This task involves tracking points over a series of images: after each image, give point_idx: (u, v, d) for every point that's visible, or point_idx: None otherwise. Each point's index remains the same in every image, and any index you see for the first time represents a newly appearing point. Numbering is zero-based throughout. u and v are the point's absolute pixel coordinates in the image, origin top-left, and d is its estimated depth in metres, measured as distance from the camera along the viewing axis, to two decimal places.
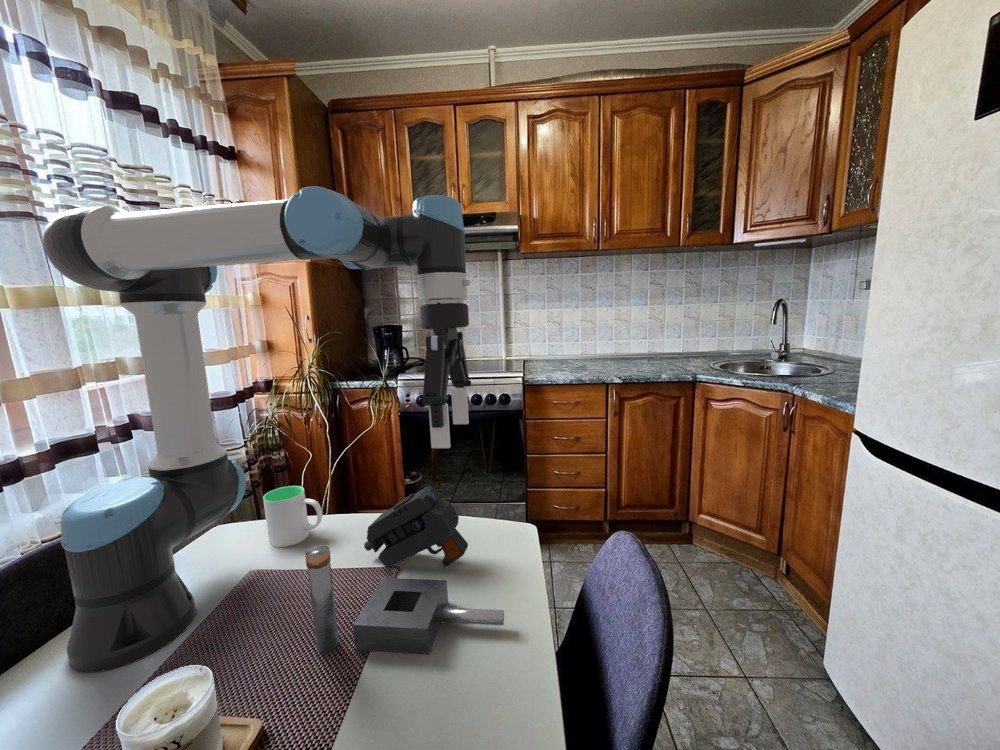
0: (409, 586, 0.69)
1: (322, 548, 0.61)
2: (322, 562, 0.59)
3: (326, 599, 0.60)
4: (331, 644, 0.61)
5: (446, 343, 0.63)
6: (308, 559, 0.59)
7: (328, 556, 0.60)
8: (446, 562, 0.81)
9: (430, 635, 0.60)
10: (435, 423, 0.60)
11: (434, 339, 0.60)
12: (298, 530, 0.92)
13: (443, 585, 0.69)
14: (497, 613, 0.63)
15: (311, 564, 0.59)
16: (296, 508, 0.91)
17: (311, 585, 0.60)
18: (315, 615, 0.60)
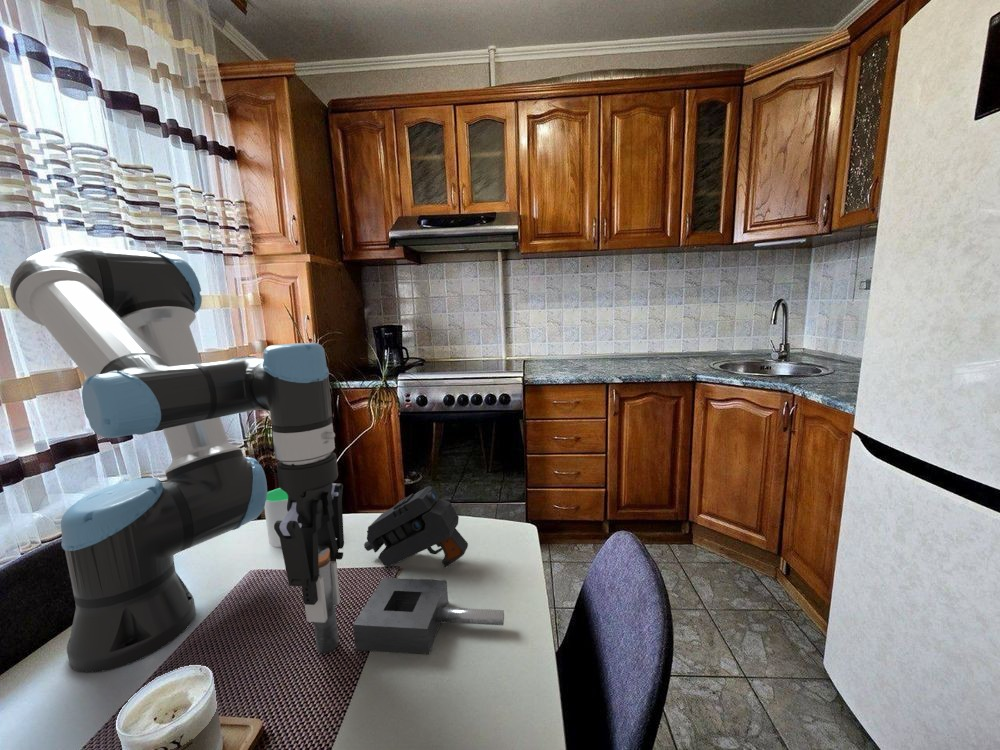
0: (409, 586, 0.69)
1: (322, 548, 0.61)
2: (322, 562, 0.59)
3: (326, 599, 0.60)
4: (331, 644, 0.61)
5: (303, 511, 0.56)
6: None
7: (328, 556, 0.60)
8: (446, 562, 0.81)
9: (430, 635, 0.60)
10: (307, 601, 0.58)
11: (284, 529, 0.53)
12: None
13: (443, 585, 0.69)
14: (497, 613, 0.63)
15: None
16: None
17: None
18: None
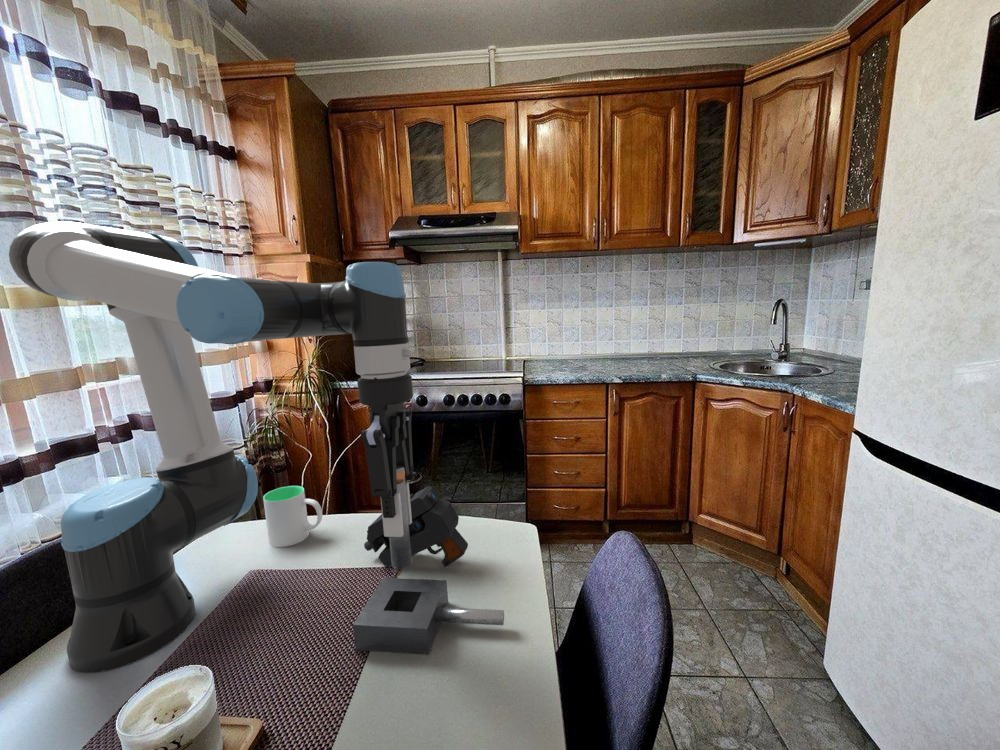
0: (409, 586, 0.69)
1: (397, 467, 0.63)
2: (399, 478, 0.61)
3: (402, 516, 0.62)
4: (406, 560, 0.63)
5: (385, 424, 0.58)
6: None
7: (404, 474, 0.62)
8: (446, 562, 0.81)
9: (430, 635, 0.60)
10: (386, 514, 0.60)
11: (370, 437, 0.55)
12: (298, 530, 0.92)
13: (443, 585, 0.69)
14: (497, 613, 0.63)
15: None
16: (296, 508, 0.91)
17: None
18: None
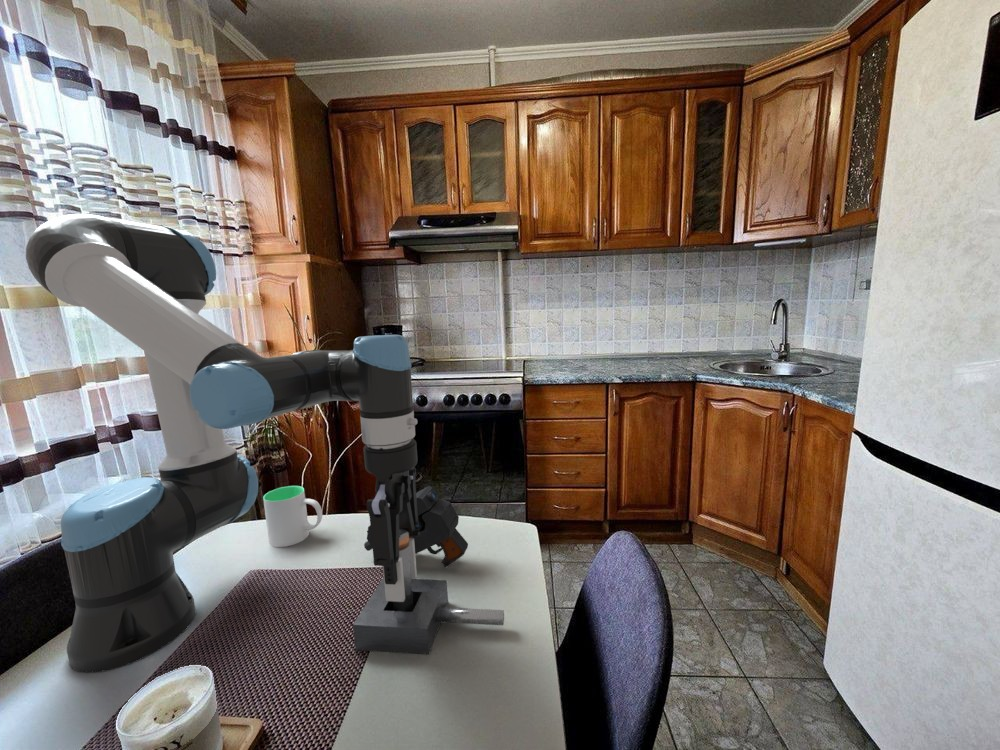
0: None
1: (401, 532, 0.64)
2: (403, 545, 0.63)
3: (406, 580, 0.64)
4: None
5: (390, 493, 0.59)
6: None
7: (408, 539, 0.64)
8: (446, 562, 0.81)
9: (430, 635, 0.60)
10: (388, 580, 0.60)
11: (375, 507, 0.56)
12: (298, 530, 0.92)
13: (443, 585, 0.69)
14: (497, 613, 0.63)
15: None
16: (296, 508, 0.91)
17: None
18: None
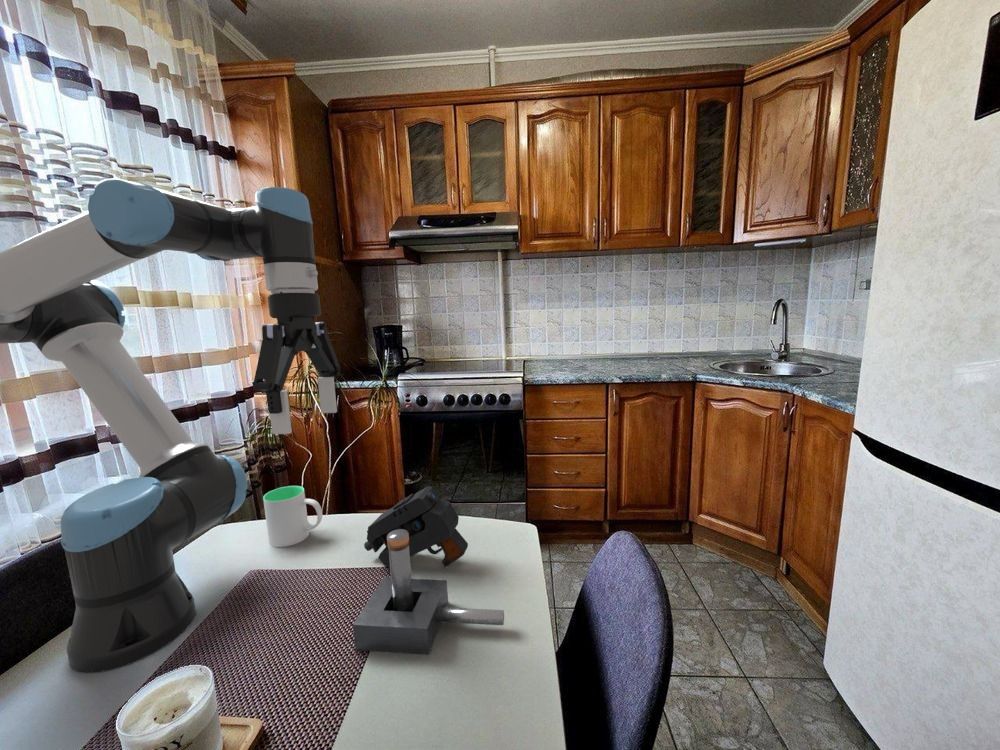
0: None
1: (401, 532, 0.64)
2: (403, 545, 0.63)
3: (406, 580, 0.64)
4: None
5: (289, 331, 0.65)
6: (391, 542, 0.62)
7: (408, 539, 0.64)
8: (446, 562, 0.81)
9: (430, 635, 0.60)
10: (271, 409, 0.62)
11: (270, 327, 0.62)
12: (298, 530, 0.92)
13: (443, 585, 0.69)
14: (497, 613, 0.63)
15: (393, 546, 0.63)
16: (296, 508, 0.91)
17: (393, 567, 0.63)
18: (396, 595, 0.64)
